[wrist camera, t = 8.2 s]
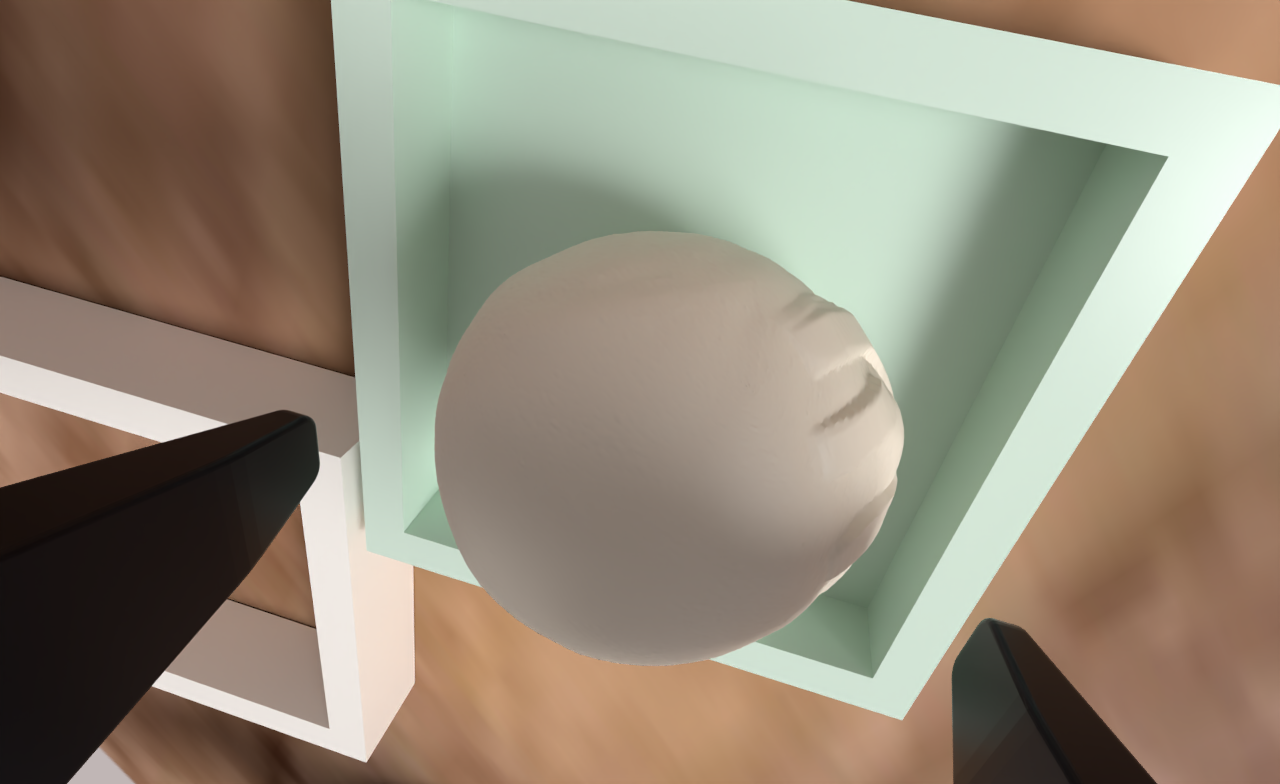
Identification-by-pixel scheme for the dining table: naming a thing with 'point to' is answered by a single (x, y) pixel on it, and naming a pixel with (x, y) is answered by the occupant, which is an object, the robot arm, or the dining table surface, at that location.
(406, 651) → the shallow gray planter box
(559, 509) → the steamed bun
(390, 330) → the tray
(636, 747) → the dining table surface
